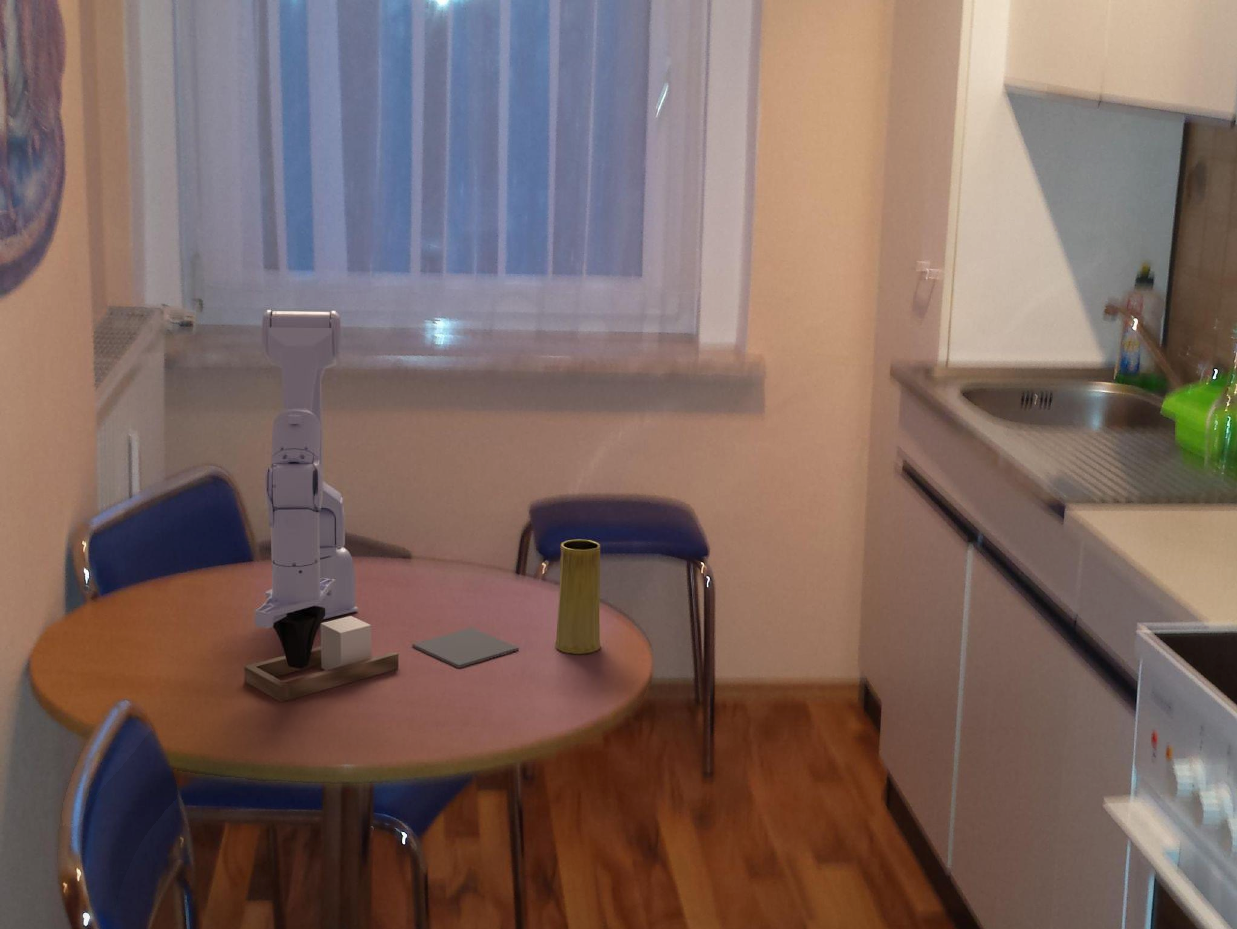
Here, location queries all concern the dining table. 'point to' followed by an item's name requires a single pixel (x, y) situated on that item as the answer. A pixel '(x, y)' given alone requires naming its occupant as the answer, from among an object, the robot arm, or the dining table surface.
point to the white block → (344, 642)
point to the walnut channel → (313, 675)
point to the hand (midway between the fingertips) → (298, 665)
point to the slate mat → (465, 647)
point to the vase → (579, 597)
